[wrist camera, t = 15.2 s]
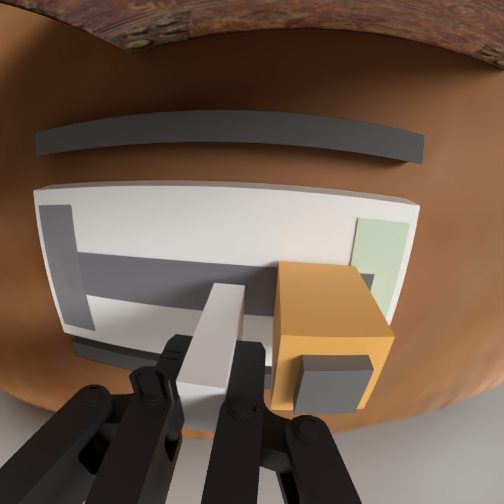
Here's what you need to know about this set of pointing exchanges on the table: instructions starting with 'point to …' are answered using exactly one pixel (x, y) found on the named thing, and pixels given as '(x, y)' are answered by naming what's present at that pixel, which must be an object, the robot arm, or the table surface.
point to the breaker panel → (206, 251)
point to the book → (285, 20)
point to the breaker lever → (325, 339)
